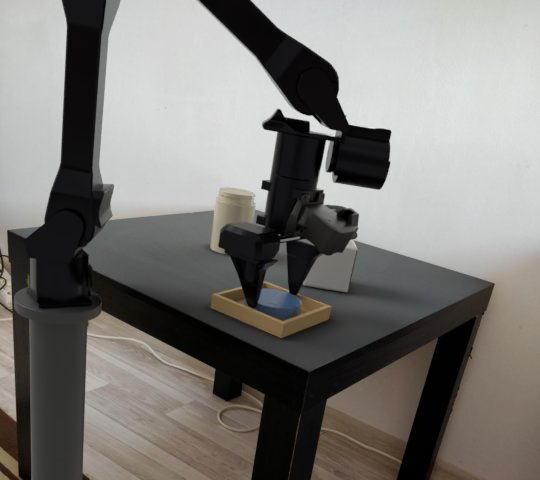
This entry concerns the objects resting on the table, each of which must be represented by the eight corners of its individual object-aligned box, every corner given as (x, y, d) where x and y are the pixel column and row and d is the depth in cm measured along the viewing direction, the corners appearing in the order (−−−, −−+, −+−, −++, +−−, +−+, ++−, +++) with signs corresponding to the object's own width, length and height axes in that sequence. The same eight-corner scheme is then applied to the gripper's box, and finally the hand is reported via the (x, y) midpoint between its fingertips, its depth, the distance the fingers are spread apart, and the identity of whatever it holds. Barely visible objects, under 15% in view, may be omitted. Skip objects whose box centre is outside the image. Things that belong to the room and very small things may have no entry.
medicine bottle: (348, 293, 89) (365, 215, 84) (302, 286, 89) (317, 207, 84) (343, 279, 96) (359, 206, 91) (301, 273, 96) (315, 199, 91)
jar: (222, 256, 97) (230, 194, 93) (203, 244, 102) (209, 185, 98) (256, 255, 101) (265, 196, 97) (236, 244, 106) (243, 187, 102)
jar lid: (285, 327, 71) (288, 313, 70) (233, 310, 73) (235, 296, 73) (307, 312, 77) (310, 299, 77) (258, 297, 80) (261, 284, 79)
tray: (281, 338, 69) (283, 323, 68) (210, 307, 74) (212, 293, 73) (328, 319, 77) (331, 306, 77) (262, 293, 83) (264, 280, 82)
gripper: (309, 194, 58) (283, 338, 64) (389, 189, 72) (361, 307, 78) (224, 171, 63) (207, 306, 69) (314, 170, 77) (293, 282, 84)
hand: (273, 300), depth 75 cm, fingers open, 9 cm apart
